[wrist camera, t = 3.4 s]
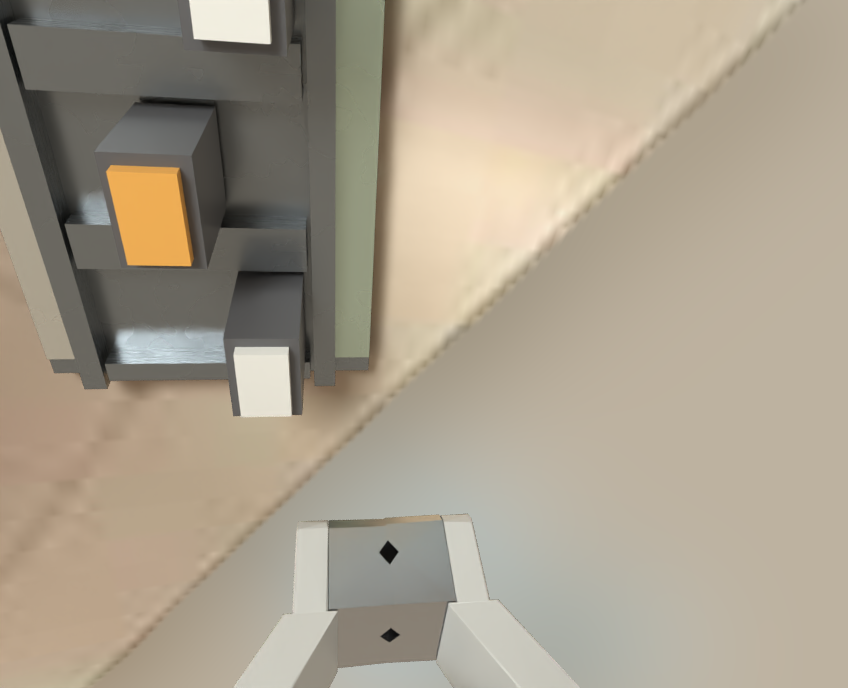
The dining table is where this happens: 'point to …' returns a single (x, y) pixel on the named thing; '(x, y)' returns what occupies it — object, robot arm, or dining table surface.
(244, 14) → the breaker
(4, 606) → the dining table surface
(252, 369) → the breaker
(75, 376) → the dining table surface
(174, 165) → the breaker mid
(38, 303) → the panel
